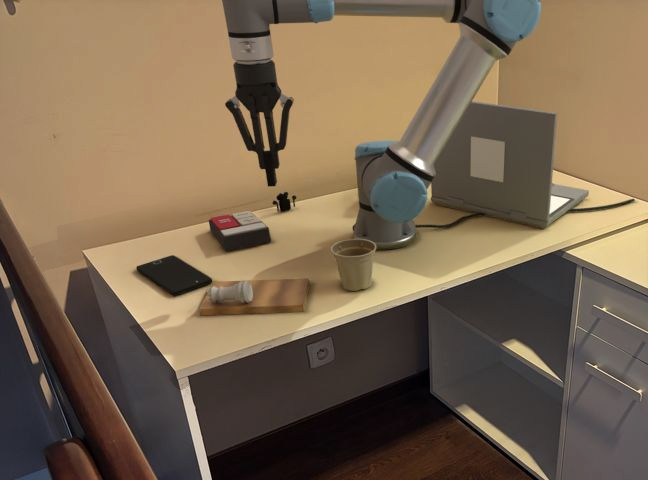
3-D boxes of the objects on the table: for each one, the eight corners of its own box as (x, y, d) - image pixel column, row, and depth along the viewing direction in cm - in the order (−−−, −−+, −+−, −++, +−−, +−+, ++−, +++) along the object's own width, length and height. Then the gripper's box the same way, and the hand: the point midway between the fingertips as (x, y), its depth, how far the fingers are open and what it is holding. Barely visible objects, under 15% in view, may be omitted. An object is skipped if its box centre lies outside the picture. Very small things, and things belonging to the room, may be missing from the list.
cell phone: (173, 258, 157) (172, 254, 156) (213, 282, 146) (212, 278, 145) (136, 270, 151) (135, 266, 151) (174, 296, 141) (173, 292, 140)
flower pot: (335, 275, 149) (331, 239, 144) (379, 274, 150) (376, 237, 145) (333, 295, 141) (329, 257, 136) (378, 294, 142) (376, 255, 137)
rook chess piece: (244, 296, 132) (204, 299, 132) (252, 306, 136) (213, 310, 136) (246, 276, 133) (206, 279, 134) (253, 287, 137) (215, 290, 138)
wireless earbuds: (275, 214, 180) (272, 196, 177) (270, 212, 182) (268, 193, 179) (298, 208, 184) (296, 190, 181) (293, 206, 186) (291, 188, 183)
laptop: (587, 199, 189) (599, 92, 174) (546, 231, 170) (555, 113, 155) (479, 178, 205) (481, 78, 190) (430, 204, 186) (428, 96, 171)
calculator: (251, 208, 174) (268, 224, 162) (253, 224, 176) (271, 242, 164) (207, 216, 169) (222, 234, 157) (210, 233, 171) (226, 251, 160)
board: (309, 284, 145) (309, 278, 145) (304, 311, 135) (303, 304, 135) (214, 287, 144) (213, 281, 143) (201, 315, 134) (199, 308, 133)
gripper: (213, 65, 123) (236, 191, 136) (286, 63, 124) (302, 189, 137) (221, 57, 129) (243, 179, 142) (291, 56, 130) (306, 177, 143)
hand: (272, 184), depth 139 cm, fingers closed
